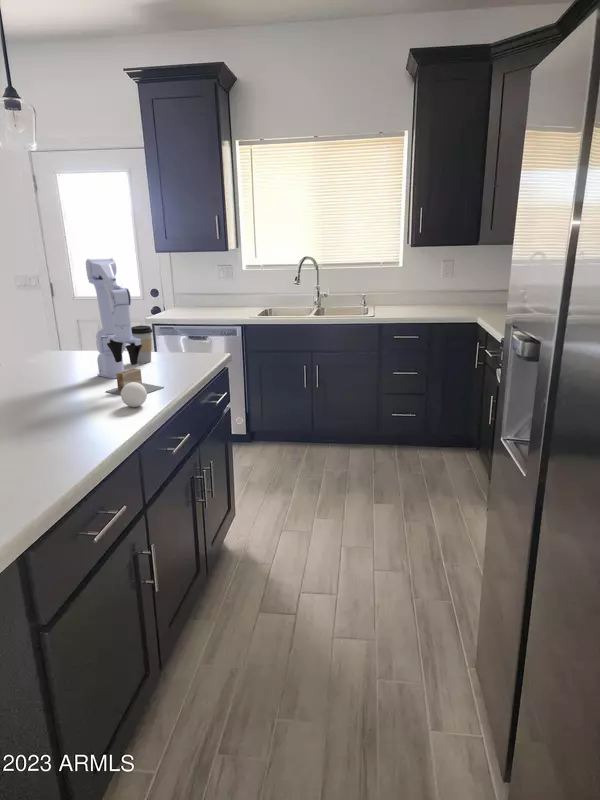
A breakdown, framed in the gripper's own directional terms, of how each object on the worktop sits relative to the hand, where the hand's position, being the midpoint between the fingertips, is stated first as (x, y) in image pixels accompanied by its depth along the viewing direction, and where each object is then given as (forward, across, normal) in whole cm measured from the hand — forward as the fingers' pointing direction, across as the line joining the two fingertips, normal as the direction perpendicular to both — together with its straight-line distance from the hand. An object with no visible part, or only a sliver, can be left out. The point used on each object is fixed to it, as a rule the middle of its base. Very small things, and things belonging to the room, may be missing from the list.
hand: (126, 363), depth 184 cm
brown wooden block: (+9, 0, 0) cm, 9 cm away
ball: (+10, +17, -13) cm, 24 cm away
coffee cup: (+10, -26, +32) cm, 42 cm away
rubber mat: (+9, +3, 0) cm, 10 cm away
